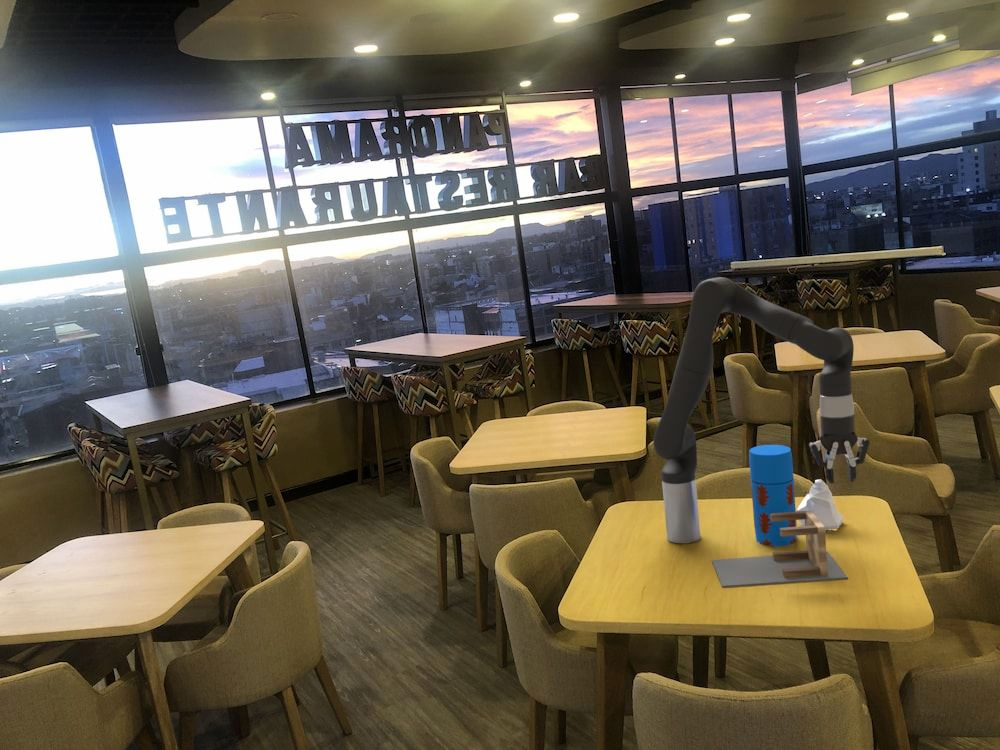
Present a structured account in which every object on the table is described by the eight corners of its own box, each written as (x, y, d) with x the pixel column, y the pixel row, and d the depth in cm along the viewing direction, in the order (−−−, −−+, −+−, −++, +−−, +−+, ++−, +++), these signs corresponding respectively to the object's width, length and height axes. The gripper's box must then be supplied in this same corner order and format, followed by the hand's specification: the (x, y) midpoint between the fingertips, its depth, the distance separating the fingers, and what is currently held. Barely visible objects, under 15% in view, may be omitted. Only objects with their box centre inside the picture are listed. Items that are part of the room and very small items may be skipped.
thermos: (784, 549, 211) (777, 457, 207) (747, 541, 219) (740, 452, 215) (804, 536, 218) (799, 447, 214) (769, 529, 226) (762, 443, 222)
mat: (711, 561, 209) (711, 559, 209) (827, 552, 205) (827, 551, 205) (722, 587, 193) (722, 585, 193) (847, 578, 190) (847, 577, 190)
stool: (773, 558, 205) (769, 513, 203) (813, 555, 204) (810, 510, 202) (784, 577, 193) (781, 530, 192) (827, 574, 192) (824, 526, 190)
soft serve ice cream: (848, 522, 228) (858, 477, 223) (830, 544, 217) (840, 498, 212) (804, 506, 236) (813, 463, 230) (785, 527, 225) (793, 483, 219)
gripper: (862, 406, 194) (866, 474, 197) (801, 412, 196) (806, 479, 199) (873, 412, 187) (877, 483, 190) (810, 418, 189) (814, 489, 191)
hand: (840, 481), depth 194 cm, fingers open, 4 cm apart
